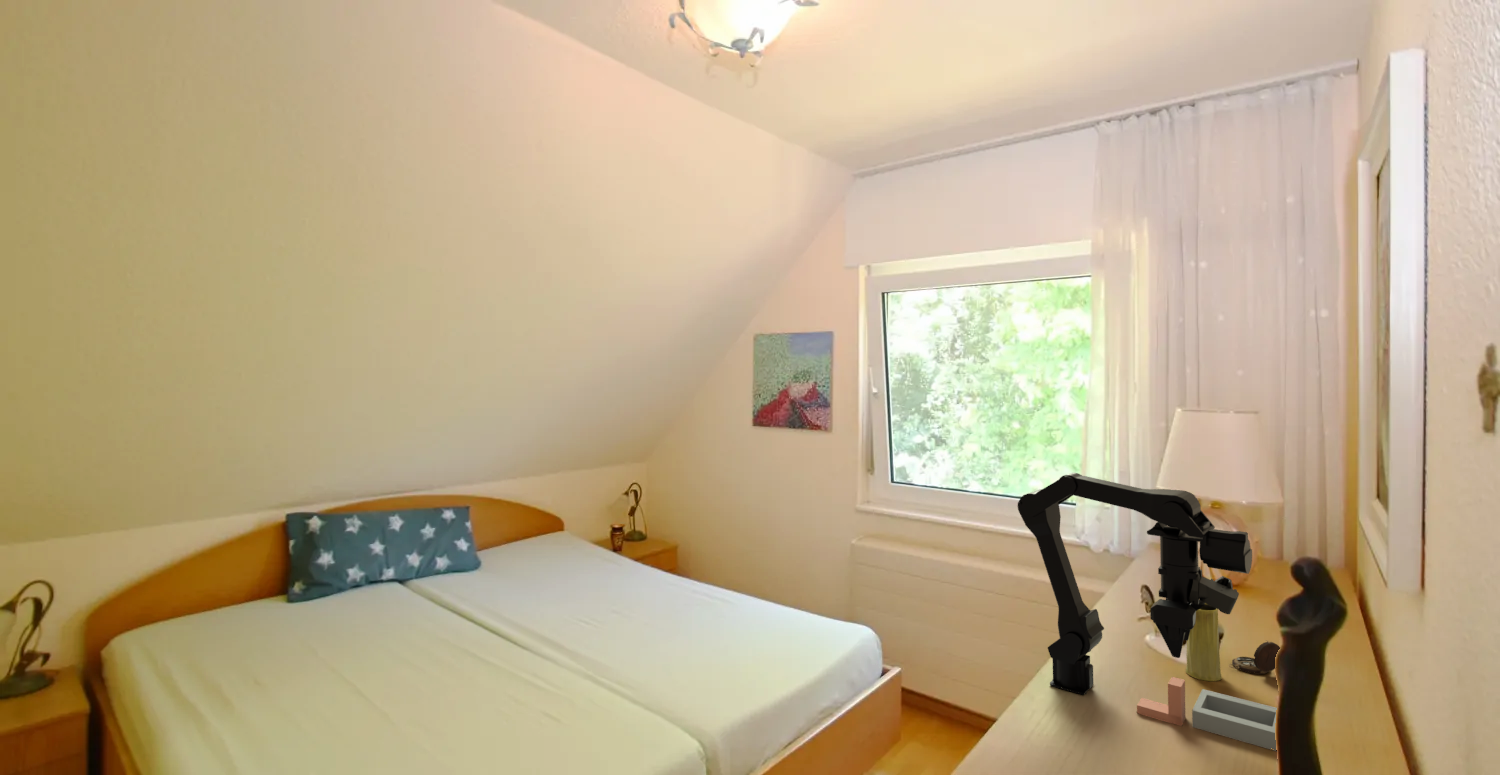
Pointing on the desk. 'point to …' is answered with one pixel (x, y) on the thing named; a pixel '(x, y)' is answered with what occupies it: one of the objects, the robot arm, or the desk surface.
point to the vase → (1204, 646)
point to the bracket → (1167, 712)
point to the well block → (1235, 718)
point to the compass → (1258, 659)
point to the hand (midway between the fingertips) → (1180, 648)
